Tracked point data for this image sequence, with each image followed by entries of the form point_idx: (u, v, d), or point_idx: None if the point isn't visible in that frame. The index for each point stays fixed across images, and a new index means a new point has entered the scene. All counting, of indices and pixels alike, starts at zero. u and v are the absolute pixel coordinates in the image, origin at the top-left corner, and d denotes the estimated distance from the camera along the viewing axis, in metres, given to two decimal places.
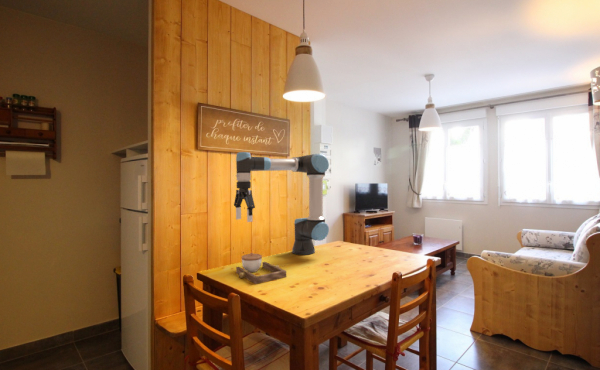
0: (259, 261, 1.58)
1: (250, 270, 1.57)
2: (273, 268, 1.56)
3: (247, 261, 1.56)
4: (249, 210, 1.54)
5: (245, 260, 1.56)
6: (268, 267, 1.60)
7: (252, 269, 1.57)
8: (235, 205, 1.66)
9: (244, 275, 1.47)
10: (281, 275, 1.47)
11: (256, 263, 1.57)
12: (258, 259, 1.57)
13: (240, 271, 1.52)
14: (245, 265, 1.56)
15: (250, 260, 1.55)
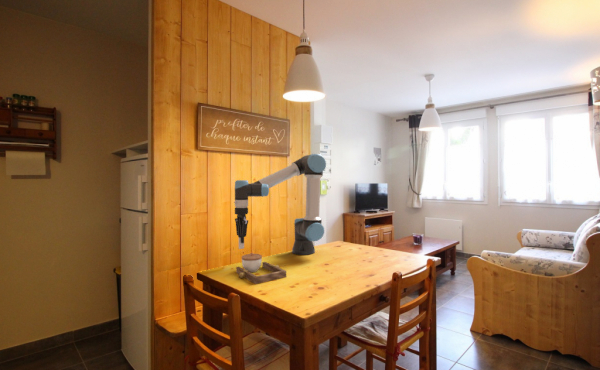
0: (259, 261, 1.58)
1: (250, 270, 1.57)
2: (273, 268, 1.56)
3: (247, 261, 1.56)
4: (241, 238, 1.69)
5: (245, 260, 1.56)
6: (268, 267, 1.60)
7: (252, 269, 1.57)
8: (238, 235, 1.71)
9: (244, 275, 1.47)
10: (281, 275, 1.47)
11: (256, 263, 1.57)
12: (258, 259, 1.57)
13: (240, 271, 1.52)
14: (245, 265, 1.56)
15: (250, 260, 1.55)
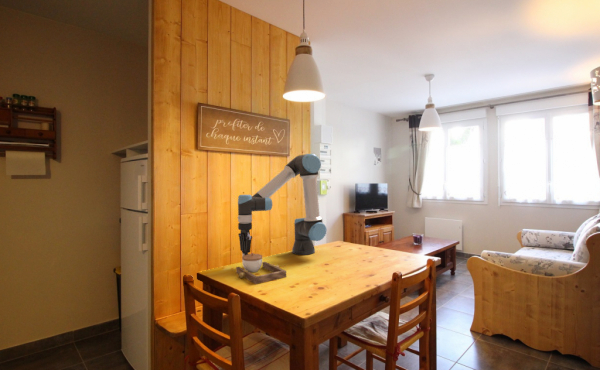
0: (260, 261, 1.57)
1: (251, 270, 1.56)
2: (273, 268, 1.56)
3: (248, 261, 1.55)
4: (245, 254, 1.65)
5: (246, 260, 1.55)
6: (268, 267, 1.60)
7: (253, 269, 1.56)
8: None
9: (244, 275, 1.47)
10: (281, 275, 1.47)
11: (257, 263, 1.56)
12: (258, 259, 1.56)
13: (240, 271, 1.52)
14: (246, 265, 1.56)
15: (251, 260, 1.55)
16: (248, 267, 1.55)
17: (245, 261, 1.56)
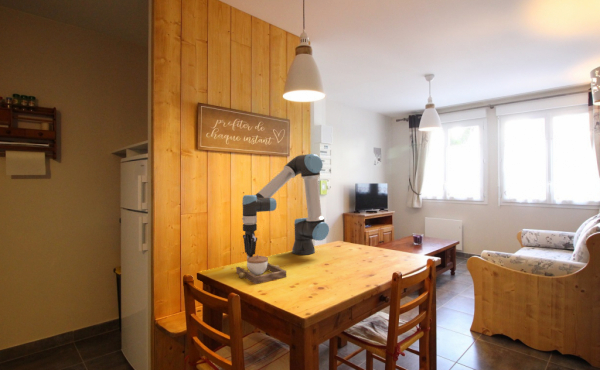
0: (265, 264, 1.53)
1: (256, 273, 1.52)
2: (273, 268, 1.56)
3: (253, 264, 1.50)
4: (249, 256, 1.60)
5: (251, 263, 1.51)
6: (268, 267, 1.60)
7: (258, 272, 1.51)
8: (246, 253, 1.63)
9: (244, 275, 1.47)
10: (281, 275, 1.47)
11: (262, 266, 1.51)
12: (264, 261, 1.52)
13: (240, 271, 1.52)
14: (251, 268, 1.51)
15: (256, 263, 1.50)
16: (253, 270, 1.51)
17: (250, 263, 1.51)
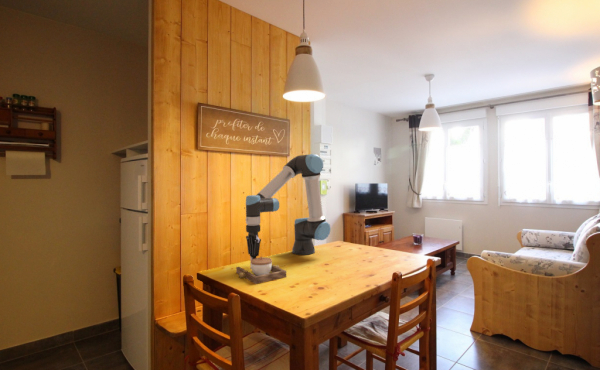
0: (270, 265, 1.50)
1: None
2: (273, 268, 1.56)
3: (257, 265, 1.47)
4: (253, 258, 1.57)
5: (255, 264, 1.47)
6: None
7: (262, 274, 1.48)
8: None
9: (244, 275, 1.47)
10: (281, 275, 1.47)
11: (267, 267, 1.48)
12: (268, 263, 1.49)
13: (240, 271, 1.52)
14: (255, 270, 1.48)
15: (260, 264, 1.47)
16: (258, 272, 1.47)
17: (254, 265, 1.48)
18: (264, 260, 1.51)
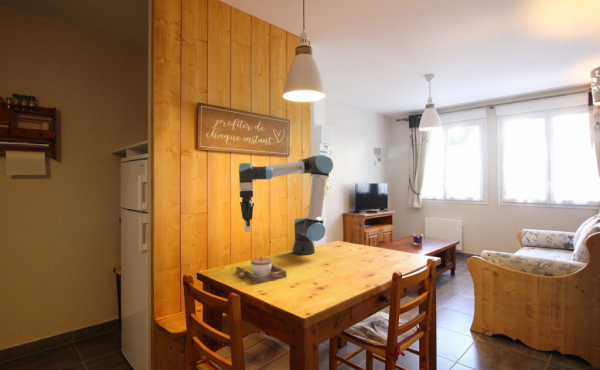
0: (270, 265, 1.50)
1: None
2: (273, 268, 1.56)
3: (257, 266, 1.47)
4: (247, 221, 1.68)
5: (255, 265, 1.47)
6: None
7: (262, 274, 1.48)
8: (243, 218, 1.70)
9: (244, 275, 1.47)
10: (281, 275, 1.47)
11: (267, 268, 1.48)
12: (268, 263, 1.49)
13: (240, 271, 1.52)
14: (255, 270, 1.48)
15: (260, 264, 1.47)
16: (258, 272, 1.47)
17: (254, 265, 1.48)
18: (264, 260, 1.51)
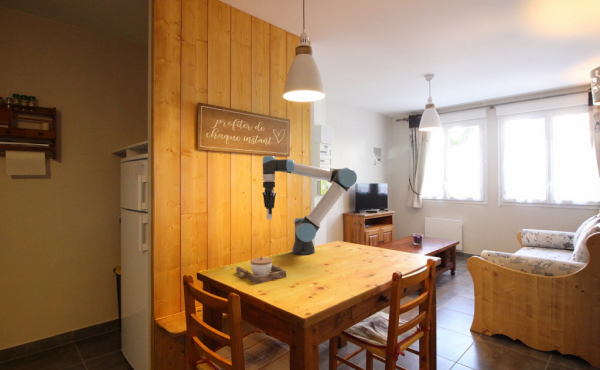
0: (270, 265, 1.50)
1: None
2: (273, 268, 1.56)
3: (257, 266, 1.47)
4: (269, 209, 1.83)
5: (255, 264, 1.47)
6: None
7: (262, 274, 1.48)
8: (266, 207, 1.85)
9: (244, 275, 1.47)
10: (281, 275, 1.47)
11: (267, 267, 1.48)
12: (268, 263, 1.49)
13: (240, 271, 1.52)
14: (255, 270, 1.48)
15: (260, 264, 1.47)
16: (258, 272, 1.47)
17: (254, 265, 1.48)
18: (264, 260, 1.51)
